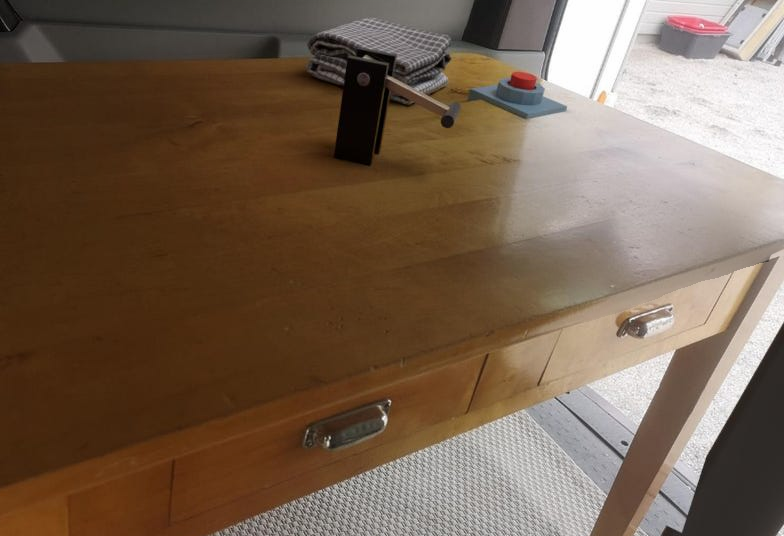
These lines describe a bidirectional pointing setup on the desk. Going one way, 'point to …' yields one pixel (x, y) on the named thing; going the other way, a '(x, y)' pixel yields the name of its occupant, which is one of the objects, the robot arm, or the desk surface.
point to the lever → (424, 100)
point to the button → (523, 80)
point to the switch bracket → (364, 106)
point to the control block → (517, 99)
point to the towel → (413, 48)
